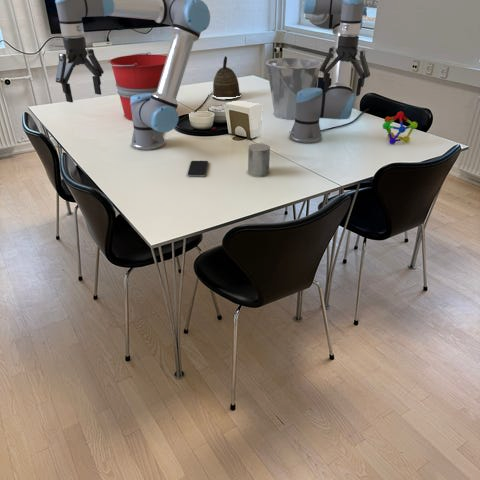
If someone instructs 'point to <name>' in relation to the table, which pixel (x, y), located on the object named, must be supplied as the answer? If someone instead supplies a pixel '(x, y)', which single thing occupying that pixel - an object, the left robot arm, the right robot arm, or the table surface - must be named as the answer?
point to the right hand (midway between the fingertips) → (341, 92)
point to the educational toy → (398, 128)
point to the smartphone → (198, 168)
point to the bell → (225, 82)
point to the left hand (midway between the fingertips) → (84, 97)
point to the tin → (258, 159)
